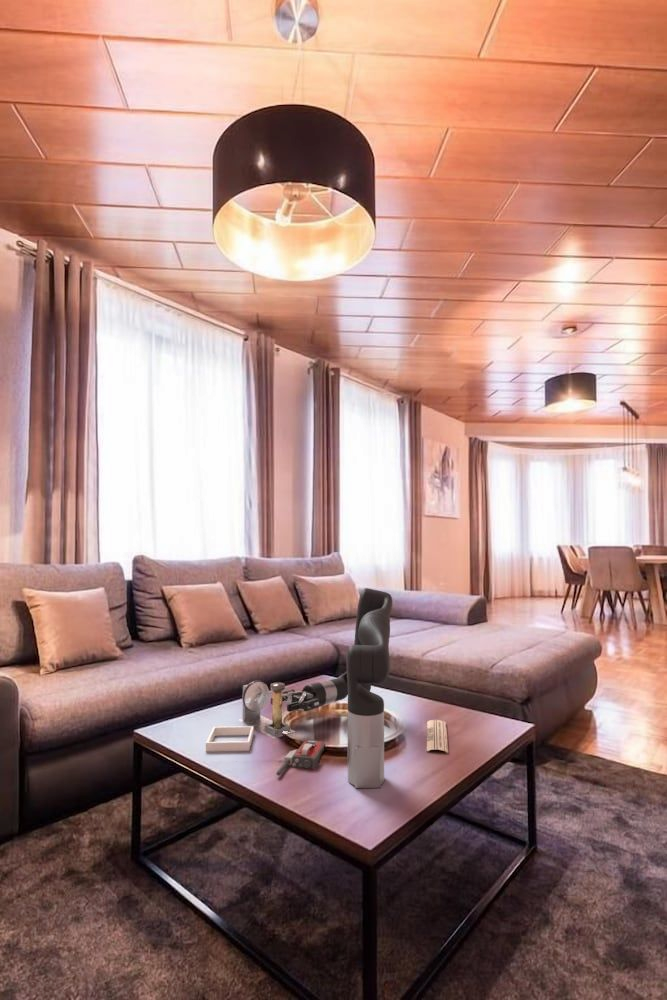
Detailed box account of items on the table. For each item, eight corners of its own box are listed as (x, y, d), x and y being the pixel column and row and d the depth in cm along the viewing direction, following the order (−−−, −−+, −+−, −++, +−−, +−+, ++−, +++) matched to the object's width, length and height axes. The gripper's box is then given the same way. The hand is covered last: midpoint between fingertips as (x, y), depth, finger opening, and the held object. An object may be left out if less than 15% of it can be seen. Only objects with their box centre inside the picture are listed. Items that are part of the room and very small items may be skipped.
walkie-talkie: (298, 748, 155) (273, 779, 135) (298, 732, 155) (273, 761, 135) (327, 751, 152) (306, 783, 133) (327, 735, 153) (306, 765, 133)
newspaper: (448, 756, 150) (448, 750, 150) (422, 754, 151) (422, 748, 151) (446, 726, 173) (446, 720, 173) (423, 724, 174) (423, 719, 174)
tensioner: (297, 734, 163) (297, 689, 164) (271, 743, 157) (272, 695, 158) (261, 717, 178) (261, 675, 179) (236, 724, 172) (236, 680, 173)
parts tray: (249, 754, 149) (249, 742, 149) (205, 755, 148) (205, 742, 148) (253, 738, 161) (253, 726, 161) (213, 738, 160) (213, 726, 160)
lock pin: (284, 733, 161) (284, 686, 162) (269, 734, 161) (269, 686, 162) (284, 728, 165) (285, 682, 166) (270, 728, 165) (270, 682, 166)
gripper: (306, 677, 180) (266, 687, 170) (334, 687, 170) (293, 697, 159) (306, 700, 180) (266, 711, 169) (334, 711, 169) (293, 723, 158)
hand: (279, 704), depth 164 cm, fingers open, 8 cm apart
